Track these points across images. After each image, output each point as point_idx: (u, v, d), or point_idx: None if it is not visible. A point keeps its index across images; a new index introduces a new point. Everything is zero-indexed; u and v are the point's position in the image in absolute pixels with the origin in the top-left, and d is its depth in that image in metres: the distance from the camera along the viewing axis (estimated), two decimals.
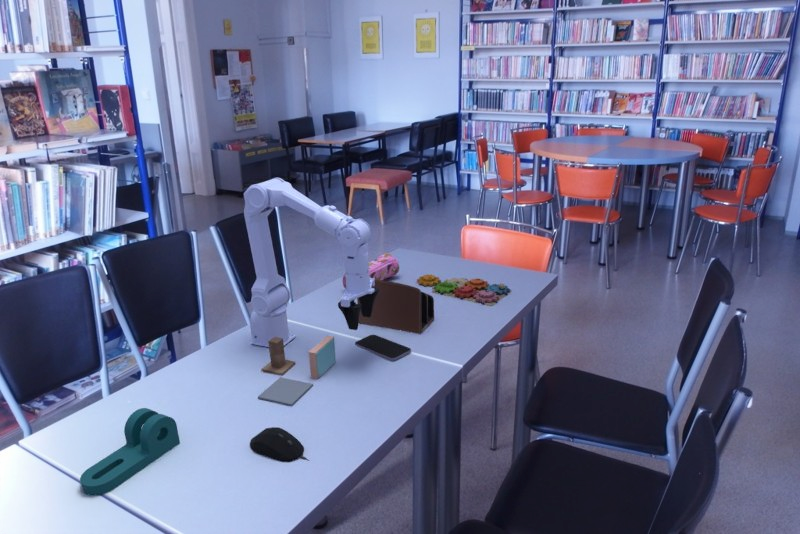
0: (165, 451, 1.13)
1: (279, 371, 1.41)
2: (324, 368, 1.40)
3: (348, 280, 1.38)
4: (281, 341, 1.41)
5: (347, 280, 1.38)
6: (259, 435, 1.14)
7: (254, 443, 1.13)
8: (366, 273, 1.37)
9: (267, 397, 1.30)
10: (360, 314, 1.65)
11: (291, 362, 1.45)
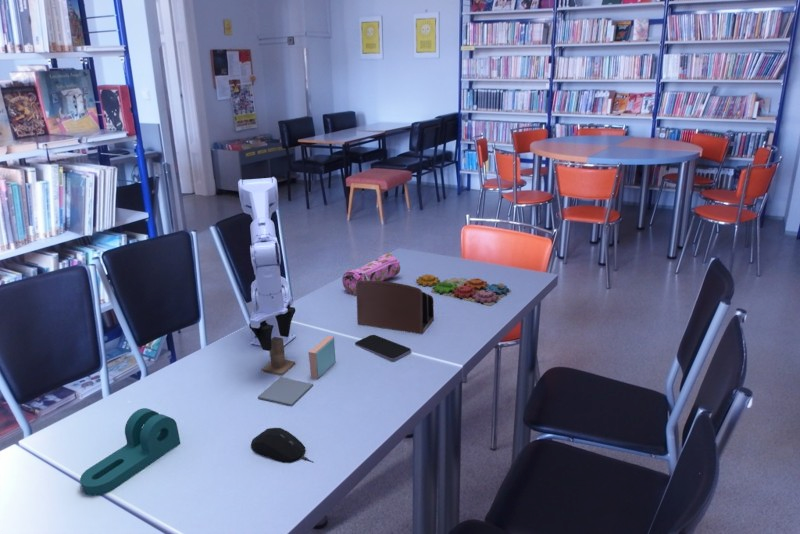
0: (165, 451, 1.13)
1: (279, 371, 1.41)
2: (324, 368, 1.40)
3: (259, 301, 1.36)
4: (281, 341, 1.41)
5: (259, 300, 1.36)
6: (260, 435, 1.13)
7: (255, 443, 1.12)
8: (278, 293, 1.35)
9: (267, 397, 1.30)
10: (360, 315, 1.65)
11: (291, 362, 1.45)
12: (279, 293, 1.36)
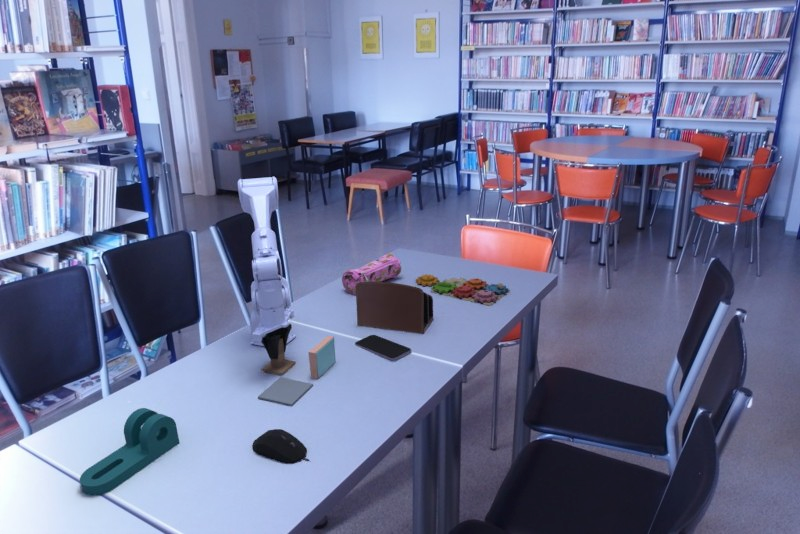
0: (165, 451, 1.14)
1: (279, 371, 1.41)
2: (324, 368, 1.40)
3: (261, 314, 1.37)
4: (281, 341, 1.41)
5: (261, 314, 1.37)
6: (262, 437, 1.13)
7: (257, 445, 1.12)
8: (279, 307, 1.37)
9: (267, 397, 1.30)
10: (359, 317, 1.64)
11: (291, 362, 1.45)
12: (281, 307, 1.37)
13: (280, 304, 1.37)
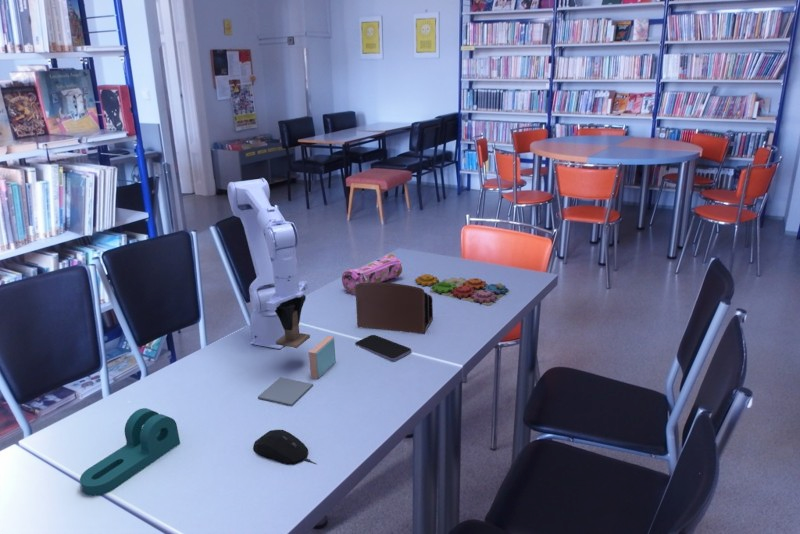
0: (165, 451, 1.13)
1: (293, 343, 1.40)
2: (324, 368, 1.40)
3: (275, 284, 1.36)
4: (295, 313, 1.40)
5: (275, 283, 1.36)
6: (263, 437, 1.13)
7: (258, 446, 1.12)
8: (294, 276, 1.35)
9: (267, 397, 1.30)
10: (359, 318, 1.63)
11: (305, 335, 1.44)
12: (295, 276, 1.36)
13: (296, 272, 1.36)
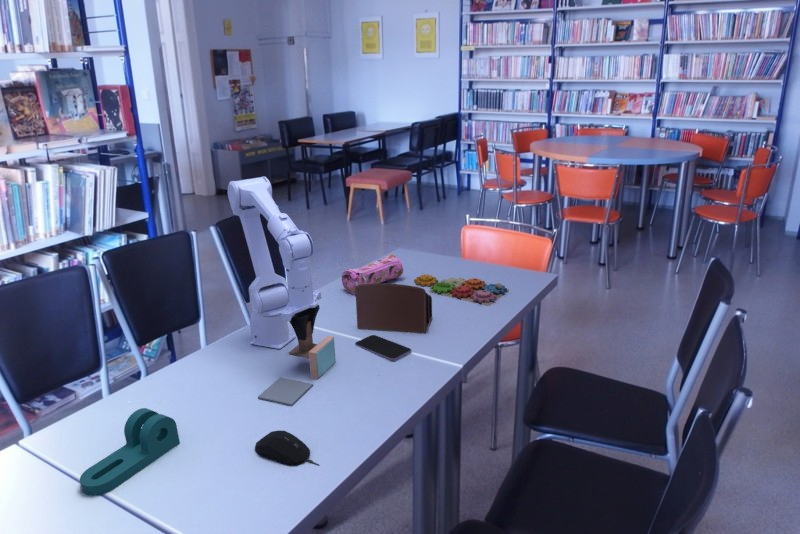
0: (165, 451, 1.13)
1: (307, 354, 1.39)
2: (324, 368, 1.40)
3: (290, 294, 1.35)
4: (309, 324, 1.40)
5: (289, 294, 1.36)
6: (264, 438, 1.12)
7: (259, 447, 1.11)
8: (308, 287, 1.35)
9: (267, 397, 1.30)
10: (360, 319, 1.62)
11: None
12: (309, 286, 1.35)
13: (311, 282, 1.36)
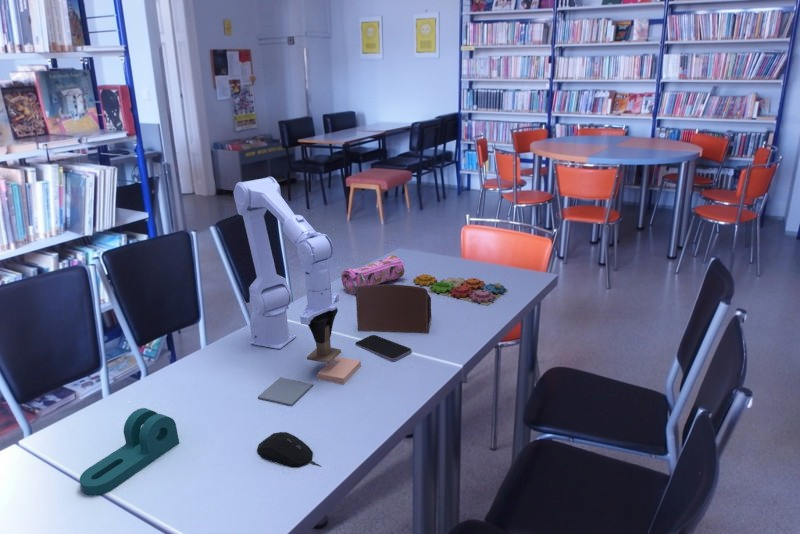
0: (164, 451, 1.13)
1: (325, 359, 1.38)
2: None
3: (308, 297, 1.34)
4: (327, 328, 1.38)
5: (308, 296, 1.34)
6: (267, 440, 1.12)
7: (262, 449, 1.11)
8: (327, 289, 1.33)
9: (267, 397, 1.30)
10: (360, 321, 1.61)
11: (336, 350, 1.42)
12: (328, 289, 1.34)
13: (330, 284, 1.35)
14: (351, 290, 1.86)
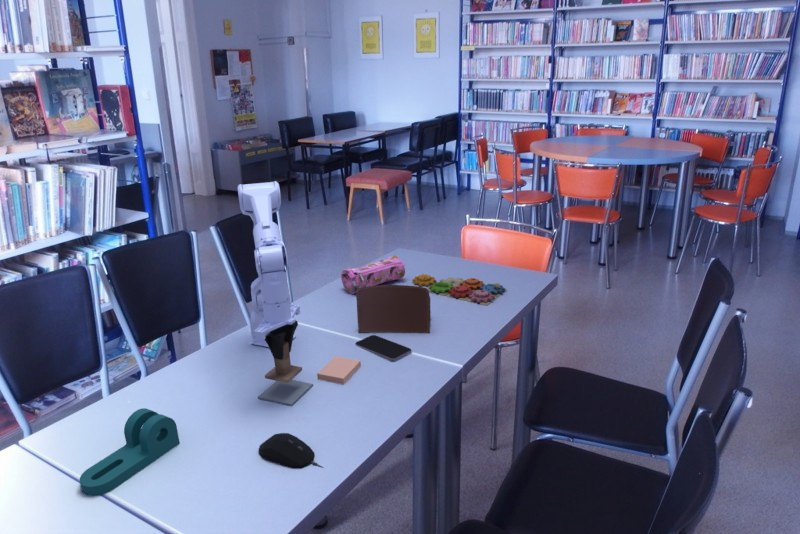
0: (165, 452, 1.13)
1: (284, 378, 1.29)
2: None
3: (264, 310, 1.24)
4: (286, 345, 1.29)
5: (264, 309, 1.25)
6: (268, 441, 1.11)
7: (263, 450, 1.11)
8: (285, 302, 1.24)
9: (267, 397, 1.30)
10: (361, 323, 1.60)
11: (297, 368, 1.33)
12: (286, 301, 1.24)
13: (286, 298, 1.24)
14: (350, 290, 1.86)
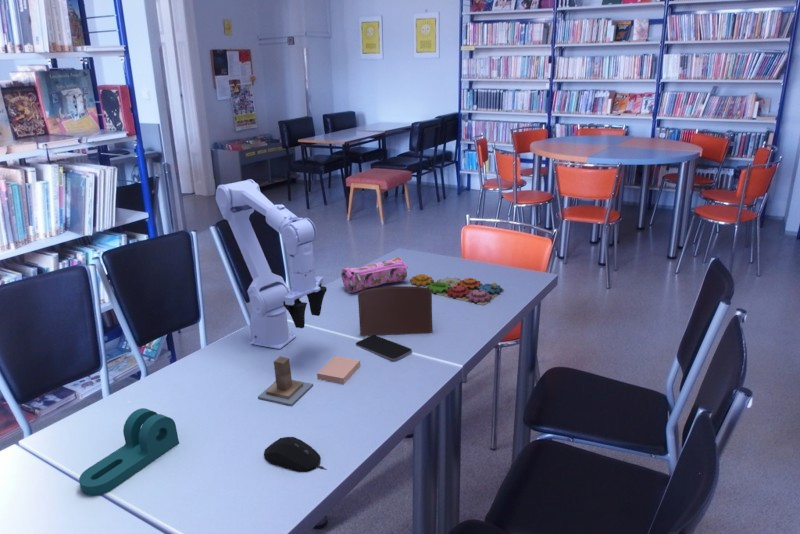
0: (164, 451, 1.13)
1: (285, 394, 1.30)
2: None
3: (293, 279, 1.39)
4: (287, 361, 1.31)
5: (292, 278, 1.39)
6: (274, 445, 1.10)
7: (269, 454, 1.09)
8: (311, 271, 1.38)
9: (267, 397, 1.30)
10: (363, 326, 1.58)
11: (298, 383, 1.34)
12: (312, 271, 1.39)
13: (314, 266, 1.40)
14: (348, 289, 1.87)
